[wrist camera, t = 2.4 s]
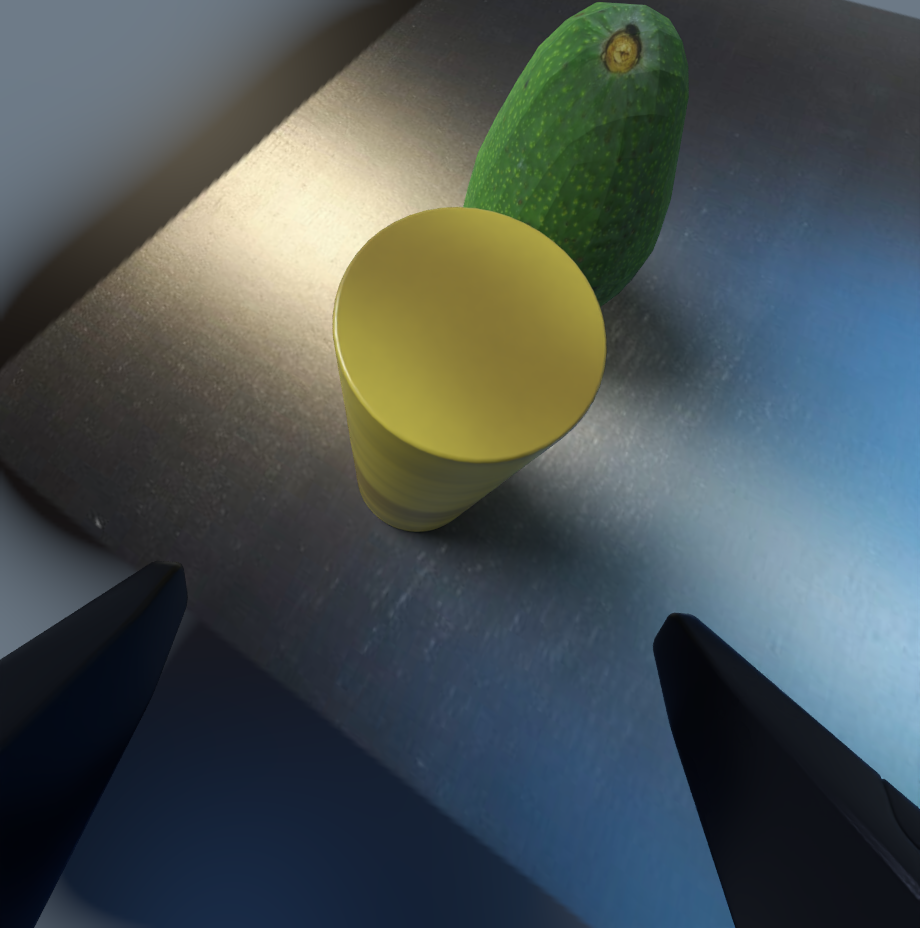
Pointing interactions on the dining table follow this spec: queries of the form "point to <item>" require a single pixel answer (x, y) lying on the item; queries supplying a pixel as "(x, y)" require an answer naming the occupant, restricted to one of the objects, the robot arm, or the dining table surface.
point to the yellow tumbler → (460, 359)
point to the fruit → (591, 140)
